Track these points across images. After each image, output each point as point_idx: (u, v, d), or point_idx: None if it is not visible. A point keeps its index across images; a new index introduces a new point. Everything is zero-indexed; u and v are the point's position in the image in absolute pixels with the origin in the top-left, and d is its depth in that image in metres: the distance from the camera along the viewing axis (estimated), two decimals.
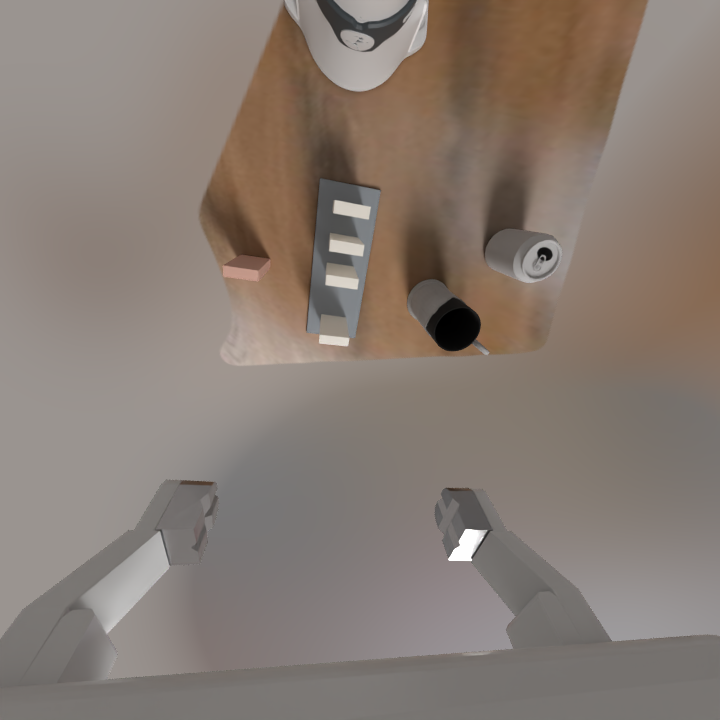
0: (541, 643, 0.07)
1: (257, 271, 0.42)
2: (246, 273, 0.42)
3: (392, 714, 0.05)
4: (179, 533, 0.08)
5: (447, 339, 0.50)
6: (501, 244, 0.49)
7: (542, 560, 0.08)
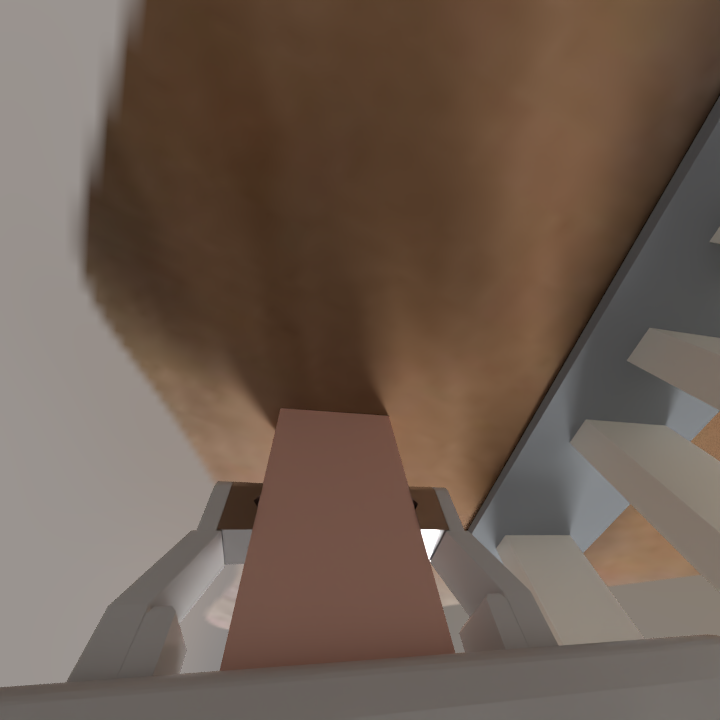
0: (488, 647, 0.07)
1: None
2: None
3: (392, 714, 0.05)
4: (238, 533, 0.08)
5: None
6: None
7: (496, 561, 0.08)
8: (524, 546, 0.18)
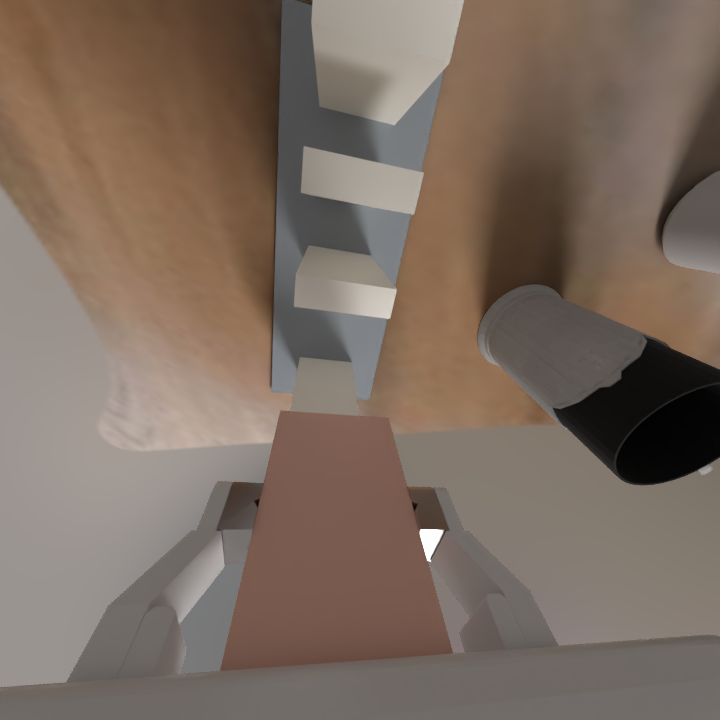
0: (488, 647, 0.07)
1: None
2: None
3: (392, 714, 0.05)
4: (238, 533, 0.08)
5: None
6: None
7: (496, 561, 0.08)
8: (309, 361, 0.26)
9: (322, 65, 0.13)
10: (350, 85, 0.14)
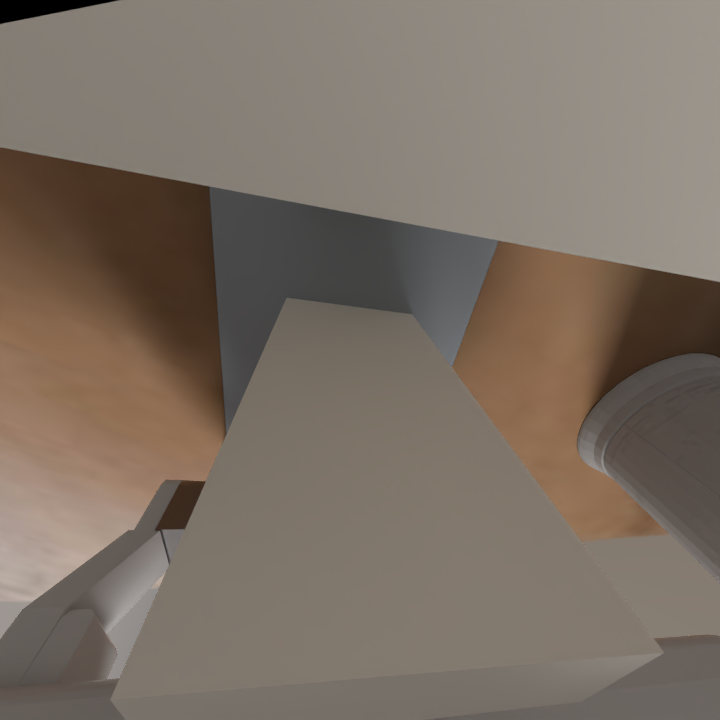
0: None
1: None
2: None
3: None
4: (179, 533, 0.08)
5: None
6: None
7: None
8: None
9: None
10: None
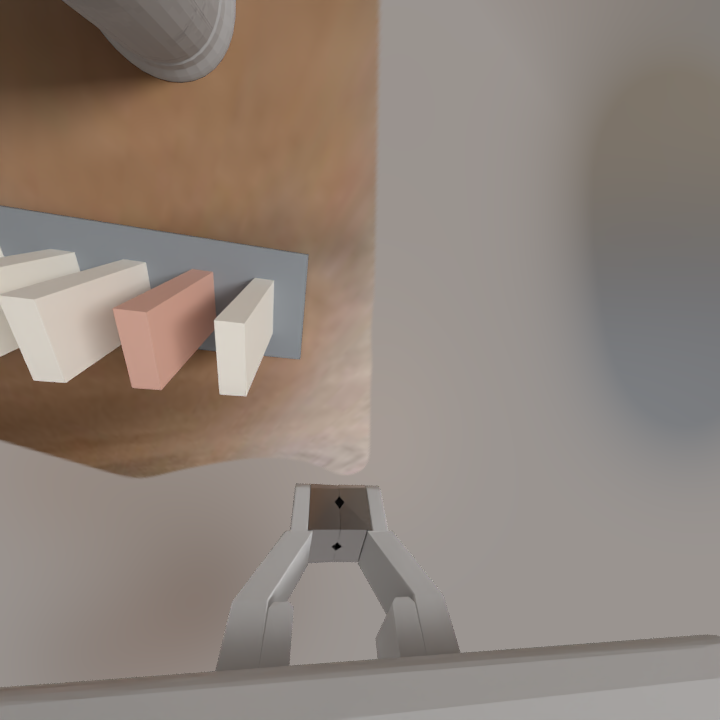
0: (390, 654, 0.07)
1: (116, 311, 0.15)
2: (133, 339, 0.16)
3: (392, 714, 0.05)
4: (326, 533, 0.08)
5: None
6: None
7: (414, 562, 0.08)
8: None
9: None
10: None
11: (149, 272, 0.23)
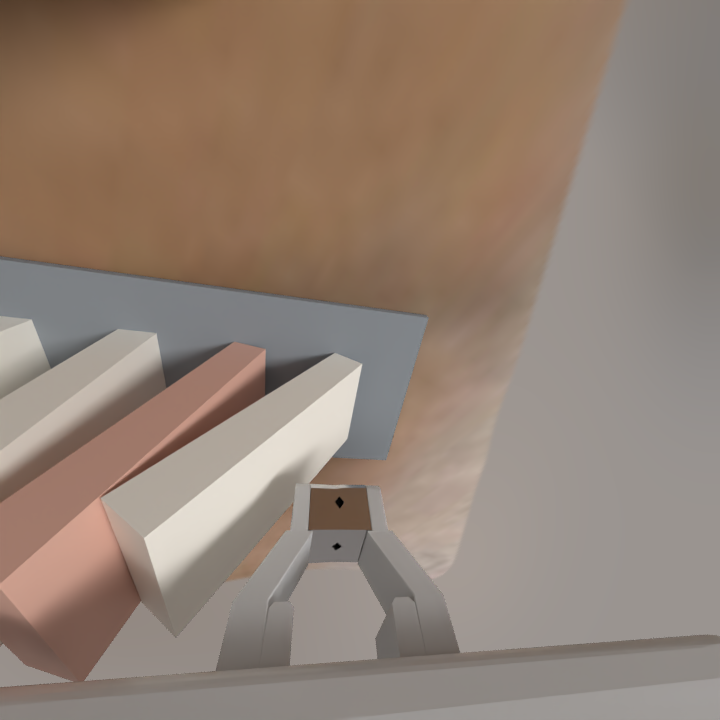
0: (390, 654, 0.07)
1: None
2: None
3: (392, 714, 0.05)
4: (326, 533, 0.08)
5: None
6: None
7: (414, 562, 0.08)
8: None
9: None
10: None
11: (162, 348, 0.14)
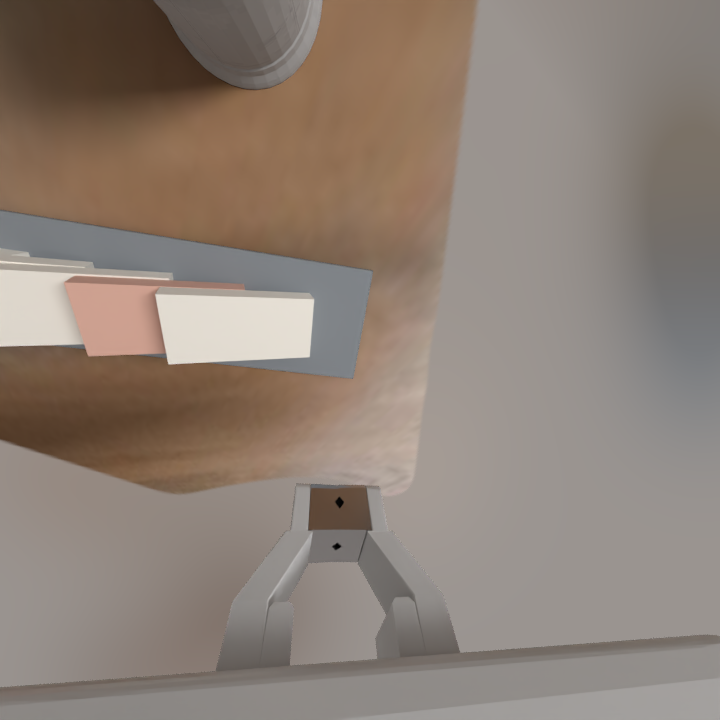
0: (390, 654, 0.07)
1: None
2: None
3: (392, 714, 0.05)
4: (326, 533, 0.08)
5: None
6: None
7: (414, 562, 0.08)
8: None
9: None
10: None
11: None
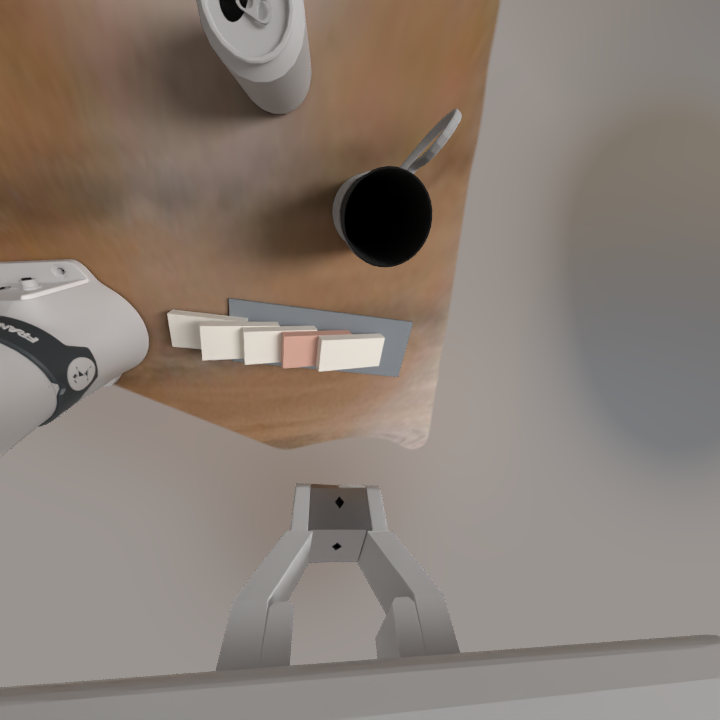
0: (390, 654, 0.07)
1: (282, 333, 0.39)
2: (282, 344, 0.40)
3: (392, 714, 0.05)
4: (326, 533, 0.08)
5: (416, 211, 0.27)
6: (252, 95, 0.26)
7: (414, 562, 0.08)
8: None
9: (197, 347, 0.41)
10: None
11: None
